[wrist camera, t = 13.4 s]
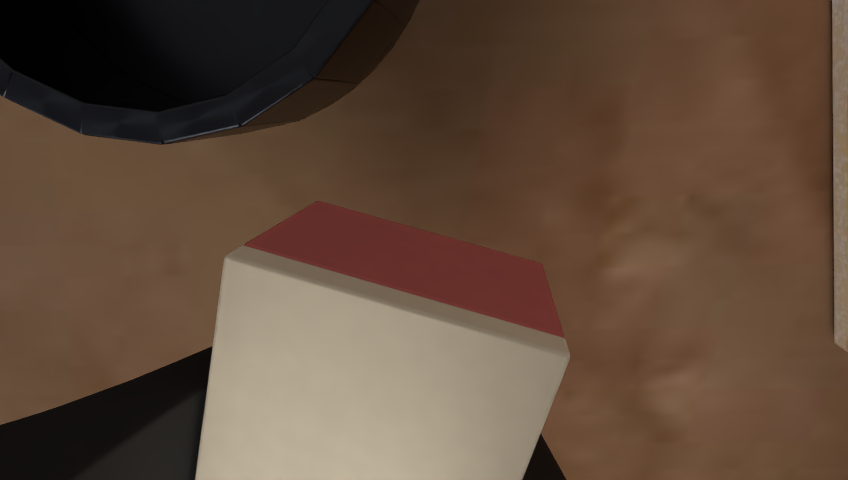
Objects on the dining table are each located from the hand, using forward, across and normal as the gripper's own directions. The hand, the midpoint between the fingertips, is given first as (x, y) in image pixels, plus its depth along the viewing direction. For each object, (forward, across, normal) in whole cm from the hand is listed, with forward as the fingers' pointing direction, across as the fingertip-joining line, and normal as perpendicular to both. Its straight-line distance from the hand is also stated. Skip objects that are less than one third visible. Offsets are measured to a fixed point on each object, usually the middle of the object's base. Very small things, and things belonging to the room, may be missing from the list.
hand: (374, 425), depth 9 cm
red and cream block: (+1, 0, 0) cm, 1 cm away
